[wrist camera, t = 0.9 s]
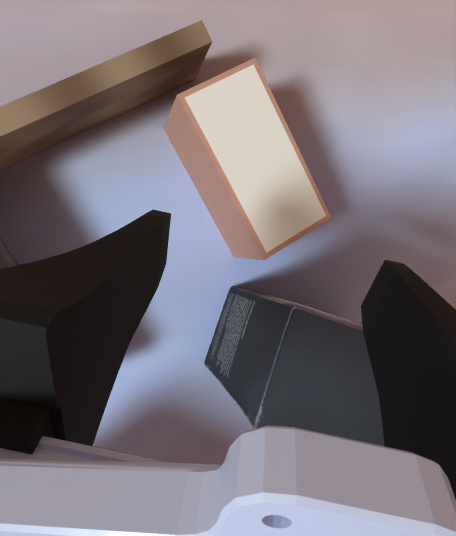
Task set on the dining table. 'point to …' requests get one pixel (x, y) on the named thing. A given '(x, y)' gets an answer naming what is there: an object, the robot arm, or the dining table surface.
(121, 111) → the shelf
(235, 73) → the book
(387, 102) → the dining table surface
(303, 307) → the small box
